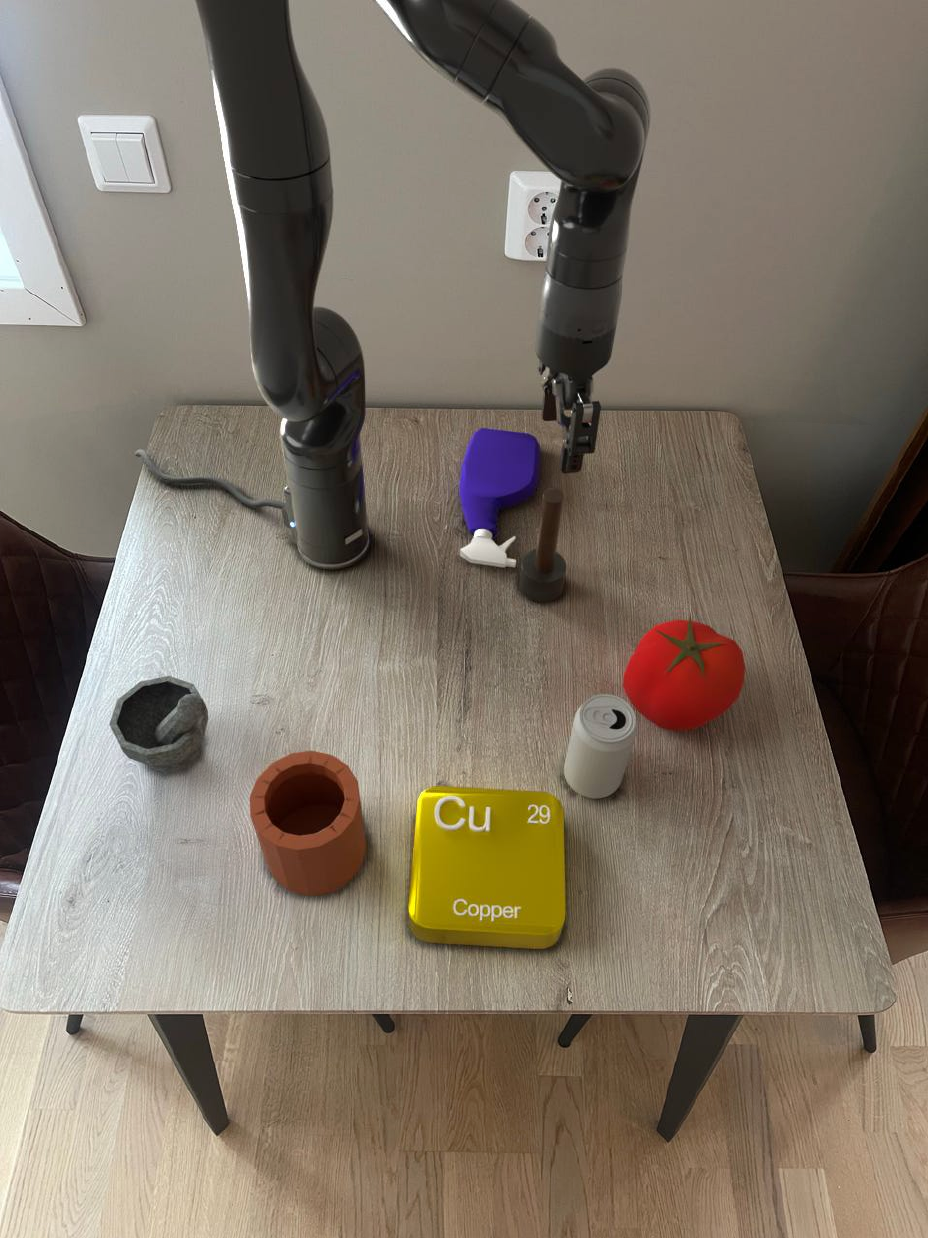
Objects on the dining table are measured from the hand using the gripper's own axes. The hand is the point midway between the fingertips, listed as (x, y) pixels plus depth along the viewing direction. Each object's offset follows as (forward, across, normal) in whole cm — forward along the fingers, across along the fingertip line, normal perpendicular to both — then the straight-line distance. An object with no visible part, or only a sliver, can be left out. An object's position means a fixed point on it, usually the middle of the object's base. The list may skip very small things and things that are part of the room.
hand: (560, 444), depth 100 cm
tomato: (+24, +20, +11) cm, 33 cm away
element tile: (+24, +37, -14) cm, 46 cm away
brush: (+24, 0, 0) cm, 24 cm away
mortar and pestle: (+24, +17, -45) cm, 54 cm away
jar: (+24, +31, -31) cm, 50 cm away
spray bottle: (+24, -16, -3) cm, 29 cm away
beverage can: (+24, +28, -1) cm, 36 cm away
